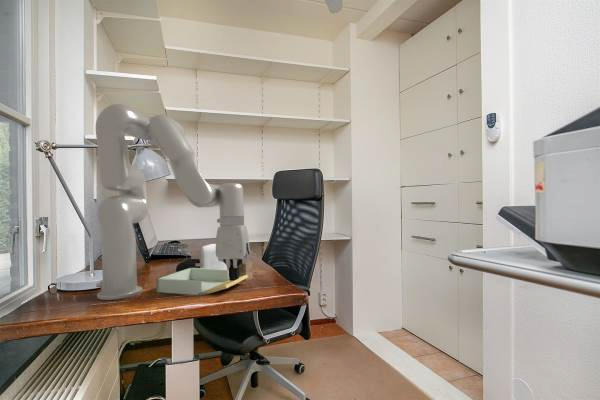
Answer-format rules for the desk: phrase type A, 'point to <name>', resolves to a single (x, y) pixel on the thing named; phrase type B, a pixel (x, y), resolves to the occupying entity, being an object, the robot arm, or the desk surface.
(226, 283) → the tailgate
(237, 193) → the robot arm
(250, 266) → the walnut block
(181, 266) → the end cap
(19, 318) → the desk surface
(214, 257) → the photo printer
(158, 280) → the pale green tray
